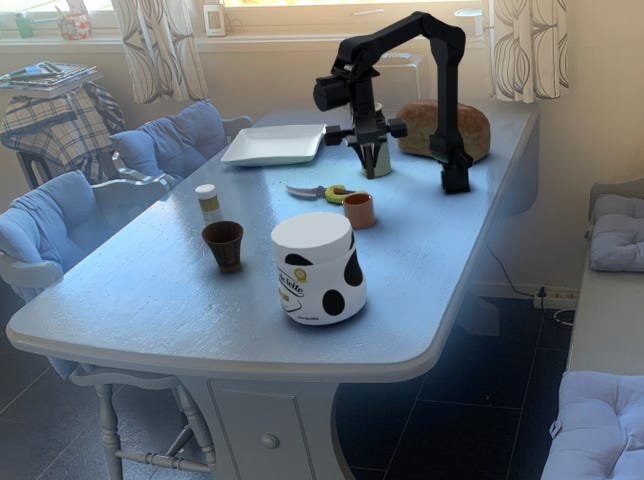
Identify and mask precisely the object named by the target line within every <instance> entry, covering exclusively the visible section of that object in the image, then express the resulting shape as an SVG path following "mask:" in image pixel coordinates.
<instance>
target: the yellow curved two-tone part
mask: <svg viewBox="0 0 644 480" xmlns="http://www.w3.org/2000/svg"><path fill="white" fill-rule="evenodd" d="M285 189H286V190H288V192H290V193H291V194H294V195H297V196H303V197H317V195H320V194H322V195H323V194H324V196H325V199H326V200H327V201H328V202H331V203H337V204H343V203H342V200H343V198H345V197H346V196H348V195H351V194H355V193H366V194H369V193H368V192H367V191H365V190H363V189H361V190H347V188H346V187H345V185H343V184H335V185H331V186H328V187H324V186H322V185H318V186H316V187H312V188H304V187H303V188H302V187H293V186H289V185H288V184H285Z"/></svg>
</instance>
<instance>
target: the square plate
mask: <svg viewBox="0 0 644 480" xmlns="http://www.w3.org/2000/svg"><path fill="white" fill-rule="evenodd" d="M327 126H329V125H328V124H327V123H319V124H317V123H316V124H292V125H289V124H288V125H287V124H286V125H272V126H271V125H270V126H262V127H251V128H242V129H241V130H240V131H239V132H238V134H237V135H236V137H235V138H234V140H233V141H232V142H231V144H230V145H229V147H228V149H227V150H226V152H225V153H224V154H223V156H222V157H221V159H220V162H221V163H222V164H225V165H226V166H230V167H231V166H232V167H242V166H243V167H263V166H265V167H266V166H279V165H280V166H281V165H296V164H301V163H305V162H306V163H307V162H311V161H313V159H314V158H315V156H316V155H317V152H318V149H319V146H320V143H321V141H322V139H323V138H324V134H323V129H324V127H327Z"/></svg>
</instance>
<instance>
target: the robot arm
mask: <svg viewBox="0 0 644 480" xmlns="http://www.w3.org/2000/svg"><path fill="white" fill-rule="evenodd" d="M419 36H422V37H423V38H425V39H427V40H428V41H429V46H430V53H431V55H432V58H433V59H434V62H435V64H436V69H437V70H436V71H437V72H436V79H437V81H436V82H437V83H436V86H437V87H436V89H437V90H436V91H437V92H436V95H437V99H436V100H438V126H437V129H436V131H435V132H434V134H430V135H429V140H430V146H429V150H431V154H432V156H433V157H432V158H434V159H435V160H436V162H437V164H438V165H441V170H440V184H441V188H442V190H443V191H444V193H445V194H446V195H451V194H457V193H459V194H460V193H466V192H471V191H472V188H471V186H470V177H469V176H470V175H469V173H470V172H469V170H470V169H471V168H473V166H474V162H473V161H474V158H472V157H471V156H470V155H469V154H467V153H466V152H465V149H464V141H463V138H462V135H461V133H460V131H459V129H458V103H459V65H460V63H461V61H462V60H463V57H464V55H465V52H466V51H465V50H466V43H467V35H466V32H465V31H464V30H463V28H462V27H460V26H457V25H451V24H449V23H447V22H445V21H443V20H441V19H439V18H436V17H435V16H433V15H432V14H431V13H430V12H425V11H421V10H415V11H413V12H412V13H411V14H409V15H408V16H406V17H404V18H401V19H399V20H397V21H395V22H393V23H391V24H389V25H387V26H385V27H384V28H381V29H379V30H377V31H375V32H373V33H369V34H363V35H356V36H351V37H347V38H344V39H343V40H342V41H341V42H340V43H339V46H338V48H337V54H336V57H335V59H334V61H333V64H332V67H331V70H330V72H329V73H330V74H329V75H327V76H320V77H316V78H315V83H316V84H315V85H314V87H313V92H312V98H313V101H314V104H315V106H316V107H317V109H318V110H319V111H320V112H322V113H324V112H328V111H329V112H330V111H331V110H335V109H339V108H341V107H342V108H343V107H345V106H346V107H347V105H348V109H349V116H350V123H351V128H345V129H341V125H340V124H336V125H328V126H327V127H324V129H323V134H324V135H323V139H324V145H325V147H335V146H340V145H341V144H342V142H343V139H345V140H344V141H345V144H346V147H347V148H352V149H353V151H355V153H356V155H357V157H358V159H359V161H360V165H361V164H362V166H363V168H364V169H366V166H365V161H364V157H363V154H362V150H361V146H360V145H364V144H368V143H372V150H373V164H374V168H376V164H377V159H378V155H379V151H380V148H381V146H382V144H383V143H386V142H387V138H388V134H390V136H391V137H392V138H394V139H397V138H401V137H407V136H408V131H407V125H406V123H405V120H404V119H403V118H395V117H394V118H388V119H387V118H386V117H385V118H377V117H376V111H375V102H376V101H375V95H374V85H373V79H374V78H377V77H380V76H381V72H380V71H378V70H377V69H376V68H374V66H375V65H376V64H377V63H378V62H379V61H380V59H381V58H382V56H383V55H385V54H386V53H388V52H389V51H392V50H394V49H395V48H397V47H399V46H401V45H403V44H405V43H407V42H409V41H412V40H413V39H415V38H417V37H419ZM346 67H347V68H349V69H346ZM386 135H387V137H386ZM362 166H361V167H362Z"/></svg>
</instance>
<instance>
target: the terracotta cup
mask: <svg viewBox="0 0 644 480" xmlns="http://www.w3.org/2000/svg"><path fill="white" fill-rule="evenodd" d="M373 199H374V198H373V196H372V195H371V194H370V193H368V194H366V193H355V194H351V195H348V196H346V197H345V198H343V200H342V203H341V204H342V208H343V216H344V217H346V218H347V219H349V222H350V224H351V227H352V230H362V229H366V228H369V227H371V226H373V225H375V223H376V214H375V208H374V207H375V206H374V200H373Z"/></svg>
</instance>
